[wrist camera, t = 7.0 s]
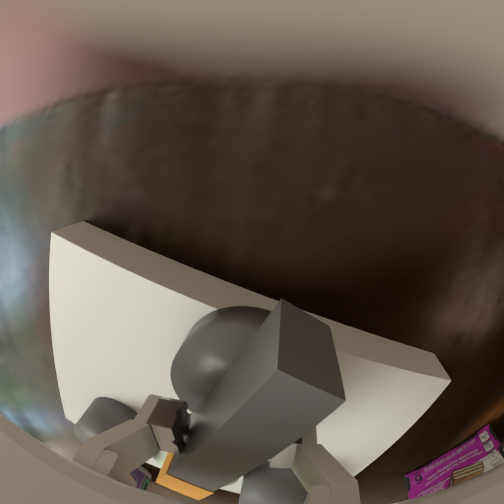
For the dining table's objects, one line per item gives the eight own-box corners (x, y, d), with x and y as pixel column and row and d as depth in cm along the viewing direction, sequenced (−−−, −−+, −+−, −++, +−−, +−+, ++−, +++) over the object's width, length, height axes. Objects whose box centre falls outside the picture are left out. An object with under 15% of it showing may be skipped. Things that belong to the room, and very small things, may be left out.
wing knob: (238, 249, 11) (193, 325, 6) (359, 322, 11) (397, 421, 6) (158, 384, 14) (114, 460, 8) (251, 431, 14) (237, 512, 9)
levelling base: (433, 353, 15) (470, 413, 9) (311, 481, 20) (311, 529, 15) (83, 221, 15) (11, 247, 9) (80, 398, 20) (49, 437, 15)
